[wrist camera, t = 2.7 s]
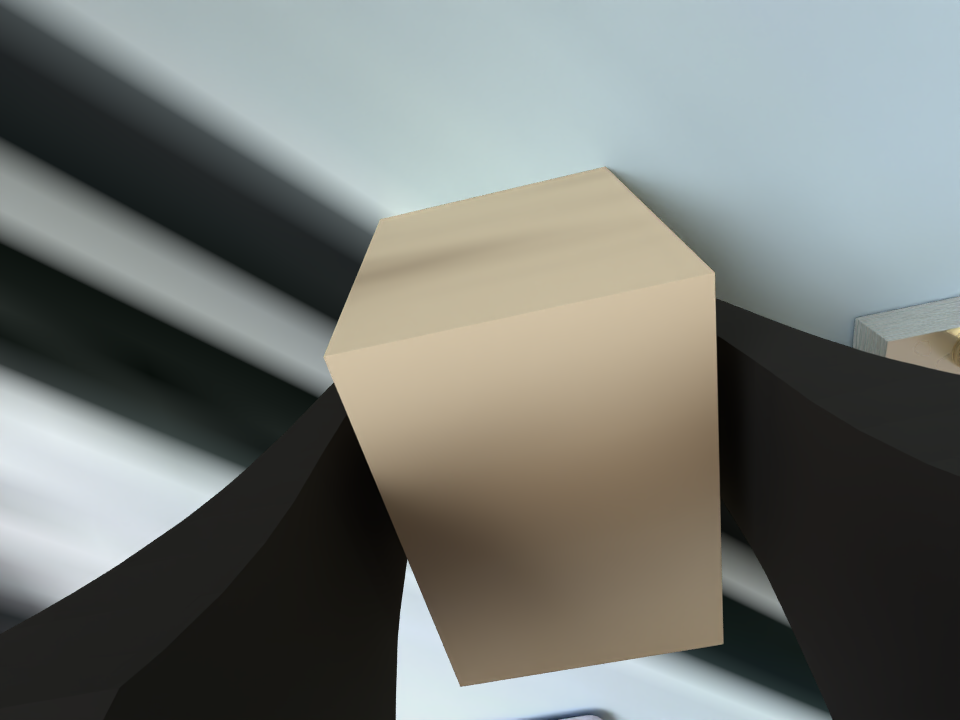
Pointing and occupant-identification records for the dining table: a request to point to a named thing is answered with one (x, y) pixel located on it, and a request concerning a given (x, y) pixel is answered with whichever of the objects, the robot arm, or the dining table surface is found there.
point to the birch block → (542, 423)
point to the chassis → (914, 335)
